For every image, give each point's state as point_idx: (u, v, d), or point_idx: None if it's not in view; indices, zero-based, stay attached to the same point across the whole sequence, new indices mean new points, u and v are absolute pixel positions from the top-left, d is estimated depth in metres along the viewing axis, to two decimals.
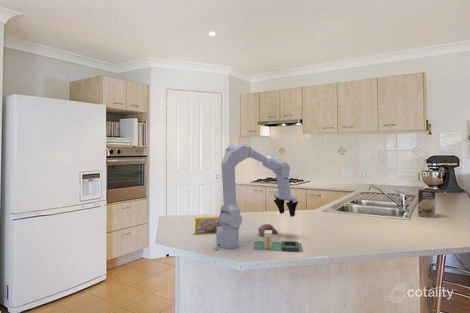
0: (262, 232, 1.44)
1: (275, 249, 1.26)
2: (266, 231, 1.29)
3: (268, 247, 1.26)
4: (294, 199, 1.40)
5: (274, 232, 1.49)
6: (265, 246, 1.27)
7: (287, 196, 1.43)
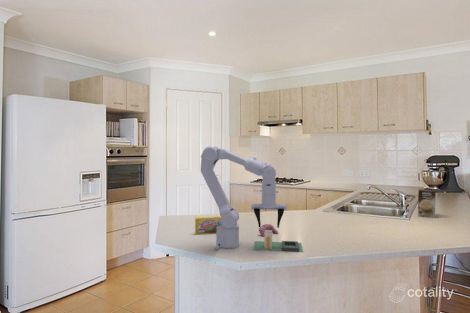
0: (262, 232, 1.44)
1: (275, 249, 1.26)
2: (266, 231, 1.29)
3: (268, 247, 1.26)
4: None
5: (274, 232, 1.49)
6: (265, 246, 1.27)
7: (262, 203, 1.29)
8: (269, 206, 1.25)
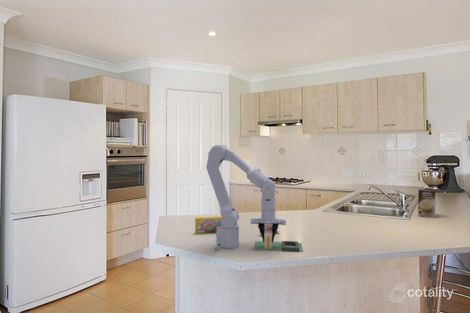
0: None
1: (275, 249, 1.26)
2: (266, 231, 1.29)
3: (268, 247, 1.26)
4: None
5: None
6: (265, 246, 1.27)
7: None
8: (268, 221, 1.25)
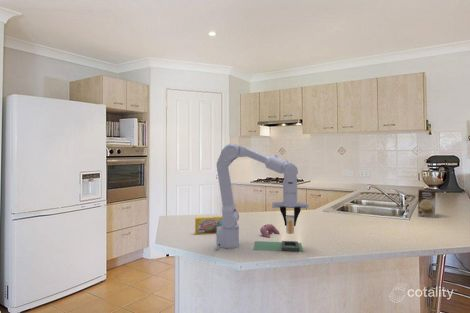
0: (264, 232, 1.43)
1: (275, 249, 1.26)
2: (288, 216, 1.27)
3: (290, 232, 1.24)
4: None
5: (276, 232, 1.49)
6: (287, 231, 1.25)
7: (283, 201, 1.28)
8: (291, 204, 1.23)
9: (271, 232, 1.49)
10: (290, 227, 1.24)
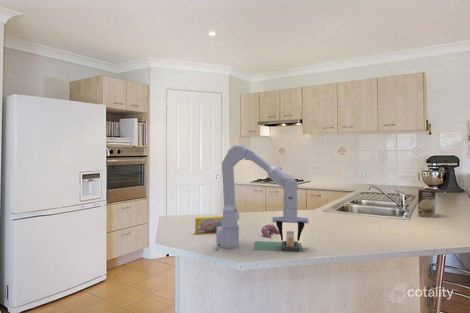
0: (265, 232, 1.43)
1: (275, 249, 1.26)
2: (288, 232, 1.27)
3: None
4: None
5: (277, 232, 1.49)
6: None
7: (283, 216, 1.28)
8: (291, 219, 1.24)
9: (272, 232, 1.48)
10: (290, 243, 1.24)
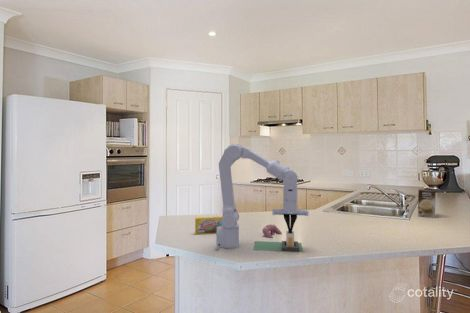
0: (266, 233, 1.43)
1: (275, 249, 1.26)
2: (288, 232, 1.27)
3: None
4: None
5: (278, 233, 1.48)
6: None
7: (283, 209, 1.28)
8: (291, 212, 1.23)
9: (273, 232, 1.48)
10: (290, 243, 1.24)
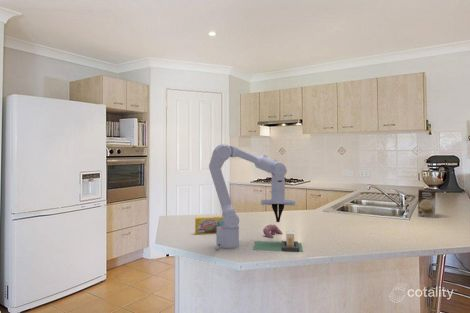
0: (267, 233, 1.43)
1: (275, 249, 1.26)
2: (288, 232, 1.27)
3: None
4: None
5: (279, 233, 1.48)
6: None
7: None
8: (278, 201, 1.30)
9: (274, 232, 1.48)
10: (290, 243, 1.24)
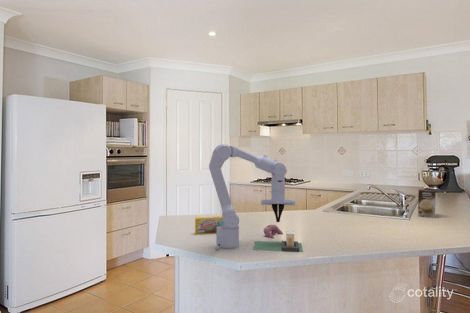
0: (267, 233, 1.42)
1: (275, 249, 1.26)
2: (288, 232, 1.27)
3: None
4: None
5: (279, 233, 1.48)
6: None
7: None
8: (278, 201, 1.30)
9: (274, 232, 1.48)
10: (290, 243, 1.24)
